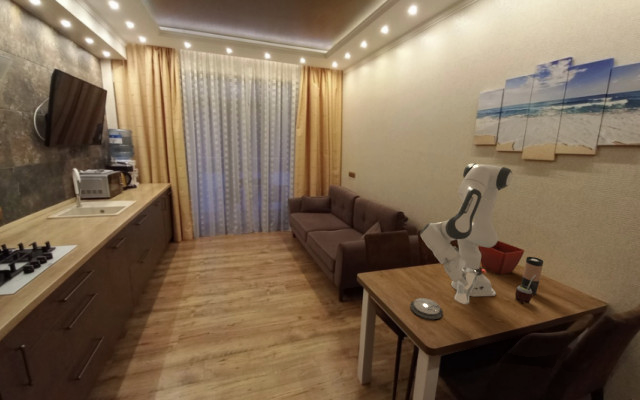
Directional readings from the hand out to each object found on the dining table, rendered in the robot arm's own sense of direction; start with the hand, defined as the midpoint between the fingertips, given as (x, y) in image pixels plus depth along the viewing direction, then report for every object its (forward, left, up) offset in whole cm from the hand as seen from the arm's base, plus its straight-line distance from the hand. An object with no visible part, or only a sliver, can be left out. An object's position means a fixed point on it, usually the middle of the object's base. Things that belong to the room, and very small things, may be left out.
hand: (467, 281), depth 120 cm
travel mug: (-52, -34, -21) cm, 66 cm away
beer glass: (+1, 0, -10) cm, 10 cm away
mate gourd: (-42, -23, -21) cm, 53 cm away
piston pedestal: (+14, -7, -21) cm, 26 cm away
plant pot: (-50, -62, -21) cm, 83 cm away
